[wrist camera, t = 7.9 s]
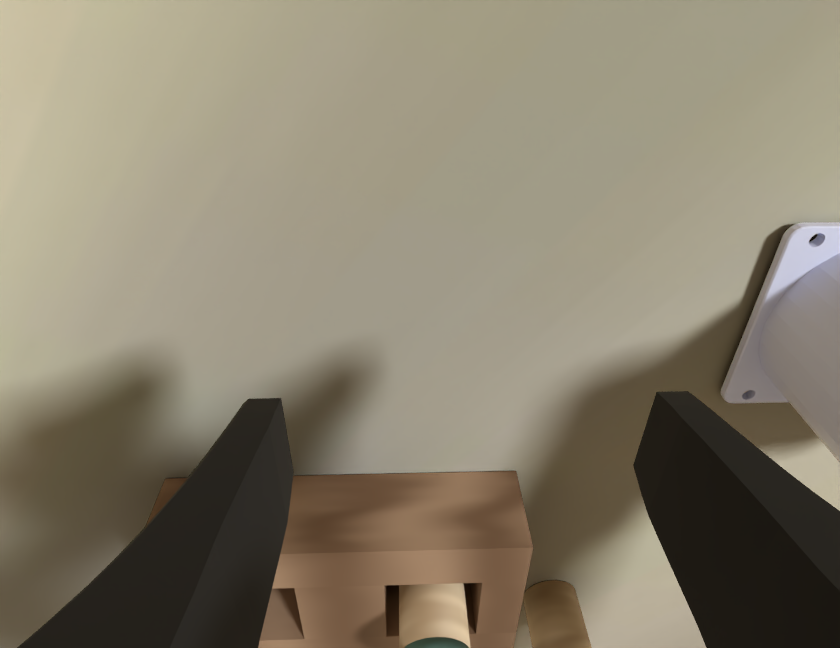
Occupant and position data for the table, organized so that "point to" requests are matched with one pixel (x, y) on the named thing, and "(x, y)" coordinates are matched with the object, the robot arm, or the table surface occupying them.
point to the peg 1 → (433, 616)
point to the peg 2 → (555, 616)
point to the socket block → (394, 555)
